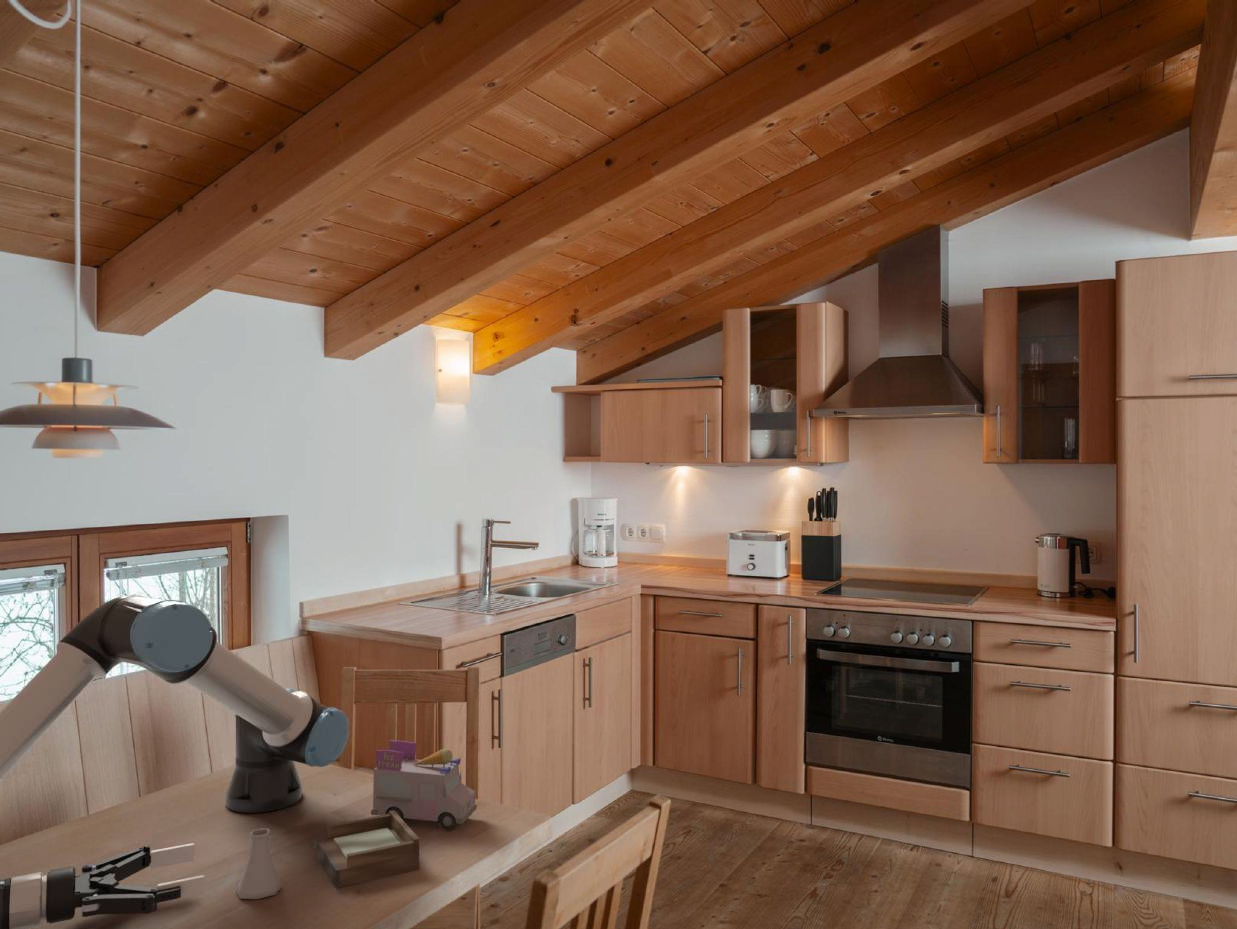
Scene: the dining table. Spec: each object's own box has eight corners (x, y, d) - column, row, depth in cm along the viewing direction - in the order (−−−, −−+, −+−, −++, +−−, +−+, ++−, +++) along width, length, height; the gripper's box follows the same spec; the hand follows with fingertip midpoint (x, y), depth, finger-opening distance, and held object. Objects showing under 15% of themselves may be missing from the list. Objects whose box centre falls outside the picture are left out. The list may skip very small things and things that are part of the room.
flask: (280, 898, 150) (281, 838, 150) (233, 903, 148) (234, 842, 148) (283, 878, 157) (284, 821, 157) (238, 883, 155) (239, 825, 155)
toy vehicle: (461, 835, 177) (462, 758, 177) (368, 825, 181) (370, 750, 181) (477, 817, 186) (479, 744, 186) (389, 808, 190) (390, 736, 190)
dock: (315, 854, 167) (316, 824, 167) (393, 838, 174) (394, 810, 174) (335, 888, 154) (336, 856, 154) (419, 869, 162) (419, 838, 162)
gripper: (46, 888, 148) (189, 860, 159) (42, 962, 126) (207, 924, 137) (47, 842, 148) (190, 818, 159) (42, 908, 126) (208, 875, 137)
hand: (198, 867), depth 148 cm, fingers open, 13 cm apart
